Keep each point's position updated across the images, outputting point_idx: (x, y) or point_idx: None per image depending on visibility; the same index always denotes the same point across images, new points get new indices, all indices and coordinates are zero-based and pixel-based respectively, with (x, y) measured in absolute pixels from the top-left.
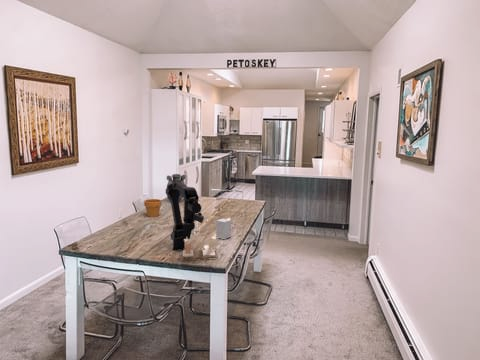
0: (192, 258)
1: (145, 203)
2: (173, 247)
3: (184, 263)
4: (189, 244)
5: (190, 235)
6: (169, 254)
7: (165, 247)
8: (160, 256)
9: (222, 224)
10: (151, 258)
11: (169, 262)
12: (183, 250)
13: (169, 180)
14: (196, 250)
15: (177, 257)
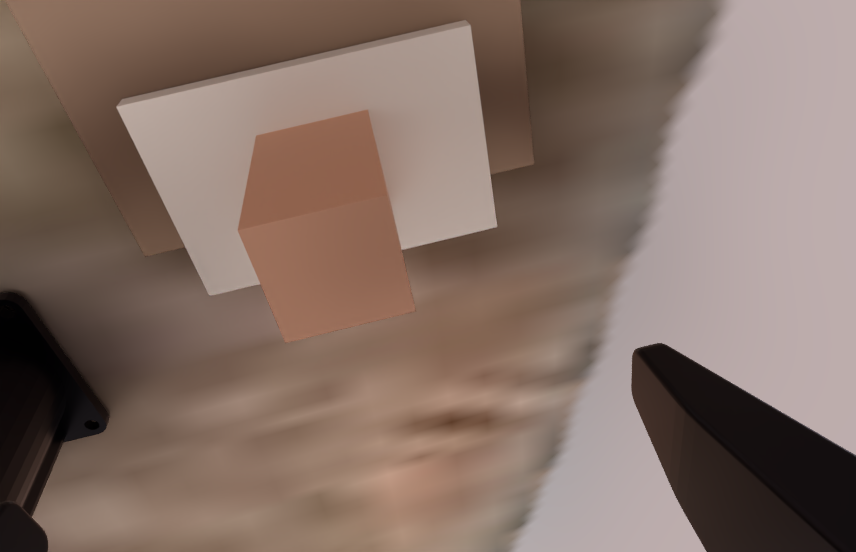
0: (516, 25)
1: None
2: (58, 452)
3: (655, 126)
4: (328, 242)
5: (801, 428)
6: (297, 408)
7: None
8: (394, 466)
9: None
10: (469, 511)
11: (598, 325)
12: (216, 282)
13: None
14: (35, 24)
15: None
